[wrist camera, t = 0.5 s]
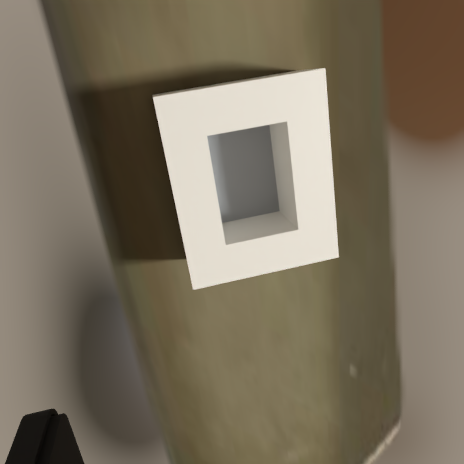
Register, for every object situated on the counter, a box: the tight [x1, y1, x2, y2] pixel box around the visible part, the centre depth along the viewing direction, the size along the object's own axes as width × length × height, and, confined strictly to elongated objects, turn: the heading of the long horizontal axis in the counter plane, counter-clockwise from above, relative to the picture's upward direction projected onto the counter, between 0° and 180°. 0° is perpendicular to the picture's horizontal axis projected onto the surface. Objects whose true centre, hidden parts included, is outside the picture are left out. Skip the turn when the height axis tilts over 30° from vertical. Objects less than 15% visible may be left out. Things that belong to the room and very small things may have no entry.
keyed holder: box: [152, 68, 339, 290], centre depth 33 cm, size 14×12×6 cm
